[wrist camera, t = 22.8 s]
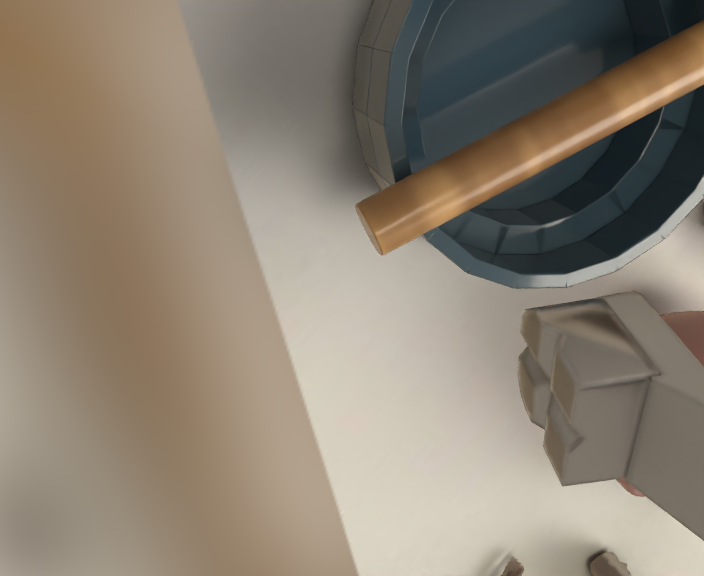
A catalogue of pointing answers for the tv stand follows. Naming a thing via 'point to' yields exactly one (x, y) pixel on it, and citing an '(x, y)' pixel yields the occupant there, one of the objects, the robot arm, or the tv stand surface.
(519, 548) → the tv stand surface
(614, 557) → the decorative sculpture
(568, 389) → the robot arm
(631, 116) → the wooden dowel
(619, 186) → the bowl
